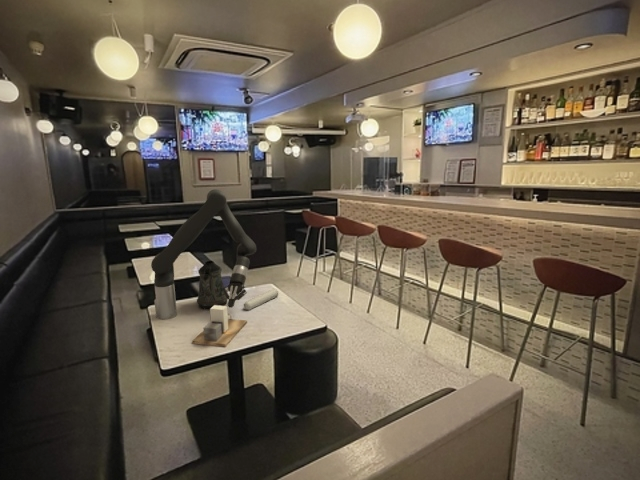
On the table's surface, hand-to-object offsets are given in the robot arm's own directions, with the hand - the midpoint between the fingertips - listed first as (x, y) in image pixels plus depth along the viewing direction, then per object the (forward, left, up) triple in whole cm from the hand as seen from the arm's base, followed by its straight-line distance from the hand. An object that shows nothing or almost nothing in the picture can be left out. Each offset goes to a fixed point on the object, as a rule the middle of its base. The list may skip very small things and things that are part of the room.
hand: (230, 307), depth 175 cm
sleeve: (0, -11, -7) cm, 13 cm away
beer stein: (-19, +19, -9) cm, 29 cm away
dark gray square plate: (0, -14, -7) cm, 15 cm away
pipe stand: (0, -10, -8) cm, 13 cm away
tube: (+6, +27, -9) cm, 29 cm away
